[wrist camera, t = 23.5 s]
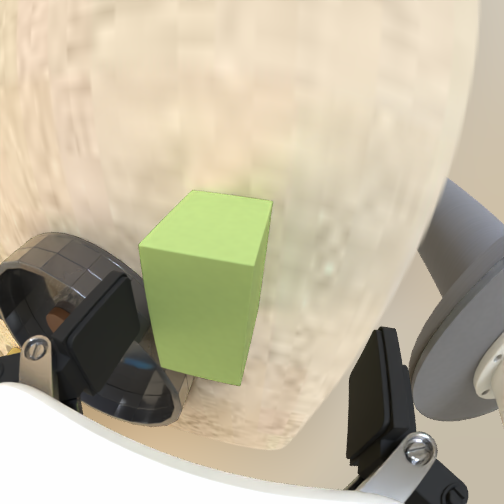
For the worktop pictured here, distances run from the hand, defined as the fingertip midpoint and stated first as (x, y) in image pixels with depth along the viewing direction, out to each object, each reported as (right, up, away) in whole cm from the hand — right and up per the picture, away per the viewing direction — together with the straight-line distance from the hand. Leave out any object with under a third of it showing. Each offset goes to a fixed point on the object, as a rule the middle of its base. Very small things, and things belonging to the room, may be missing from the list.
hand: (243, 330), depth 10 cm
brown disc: (-16, -4, +12) cm, 20 cm away
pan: (-13, -4, +12) cm, 18 cm away
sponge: (-1, +3, +5) cm, 6 cm away
